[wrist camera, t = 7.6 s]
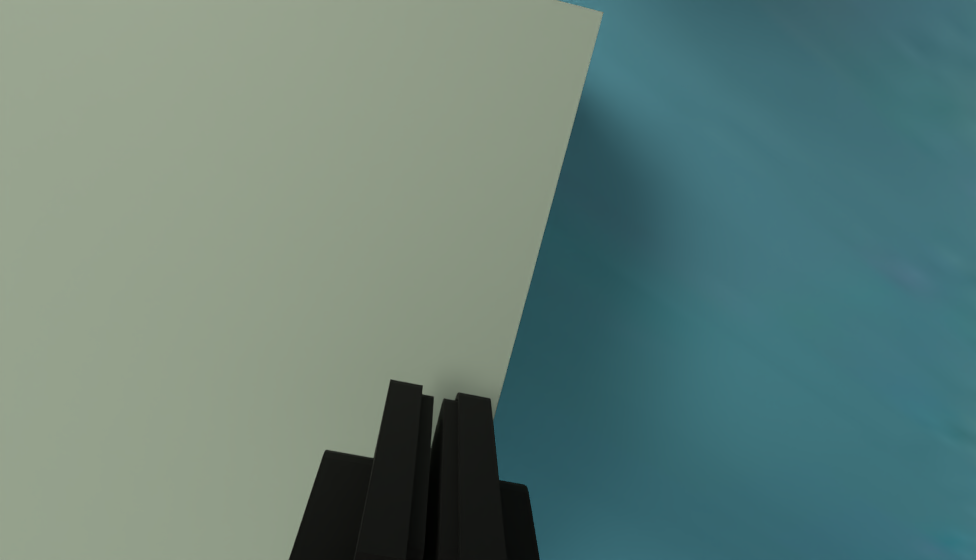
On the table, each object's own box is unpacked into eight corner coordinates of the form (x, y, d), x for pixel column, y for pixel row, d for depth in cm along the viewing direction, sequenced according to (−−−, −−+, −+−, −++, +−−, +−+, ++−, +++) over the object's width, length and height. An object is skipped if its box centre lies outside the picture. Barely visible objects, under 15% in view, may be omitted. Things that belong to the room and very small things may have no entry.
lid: (-276, -207, 10) (-353, -235, 9) (594, 17, 11) (603, 12, 10) (-208, 607, 15) (-255, 644, 14) (406, 722, 16) (400, 764, 15)
